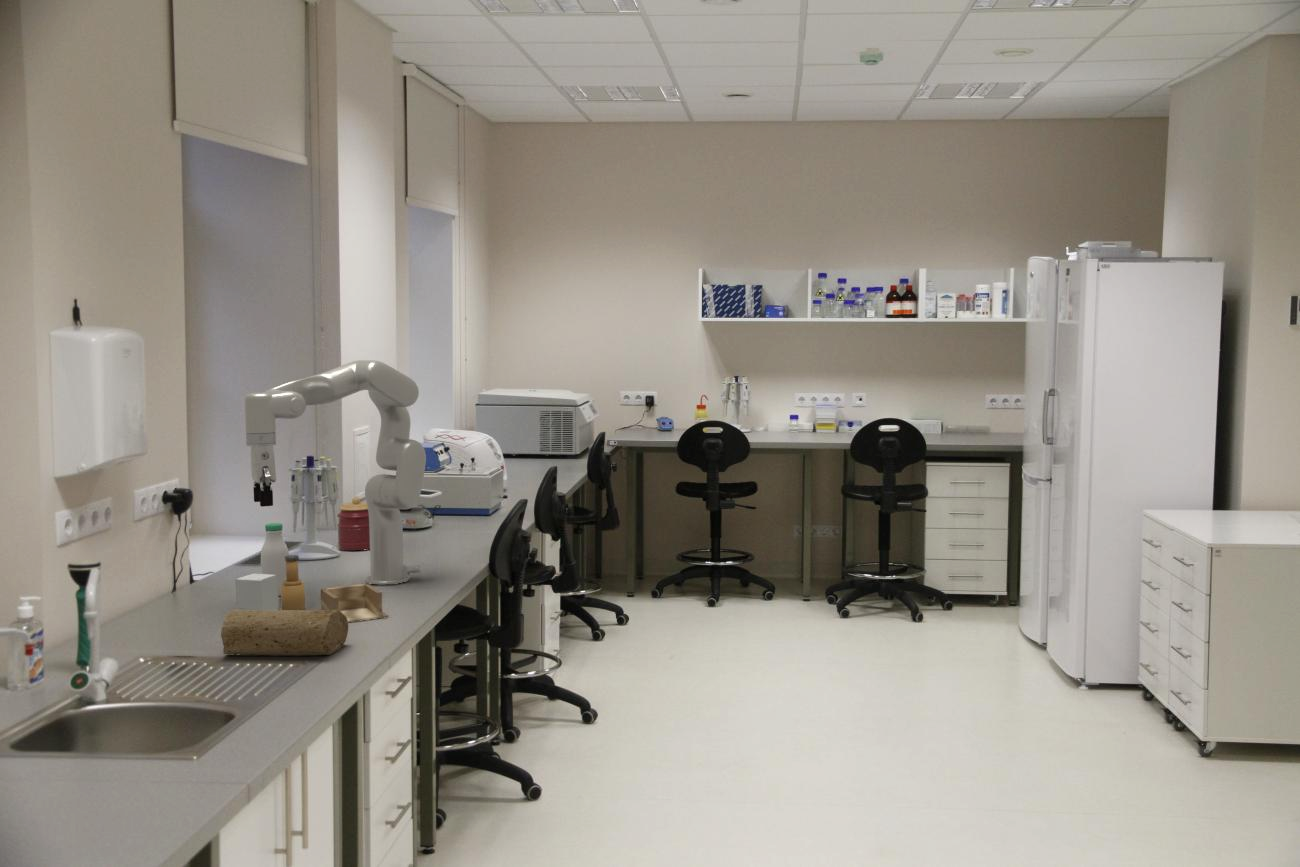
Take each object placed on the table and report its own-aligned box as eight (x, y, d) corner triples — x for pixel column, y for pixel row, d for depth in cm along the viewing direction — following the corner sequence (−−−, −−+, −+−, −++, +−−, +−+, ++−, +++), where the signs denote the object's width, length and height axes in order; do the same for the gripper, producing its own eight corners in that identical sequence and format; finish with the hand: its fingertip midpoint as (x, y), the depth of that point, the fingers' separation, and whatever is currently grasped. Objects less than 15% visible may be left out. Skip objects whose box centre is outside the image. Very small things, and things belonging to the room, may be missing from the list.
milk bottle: (282, 597, 328) (279, 526, 326) (256, 596, 330) (253, 525, 328) (295, 591, 336) (293, 522, 334) (270, 590, 337) (268, 521, 336)
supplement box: (280, 623, 299) (278, 574, 298) (261, 630, 292) (259, 580, 291) (255, 621, 301) (253, 572, 300) (236, 628, 294) (234, 578, 293)
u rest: (372, 607, 316) (371, 582, 315) (388, 617, 304) (387, 592, 303) (315, 614, 308) (315, 589, 308) (330, 625, 296) (329, 599, 296)
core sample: (239, 644, 280) (237, 602, 279) (349, 644, 279) (348, 602, 278) (215, 660, 266) (213, 617, 265) (331, 661, 265) (329, 617, 264)
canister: (372, 551, 397) (370, 499, 395) (333, 552, 397) (331, 499, 396) (381, 544, 410) (379, 494, 408) (344, 545, 410) (342, 494, 409)
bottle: (302, 608, 315) (300, 553, 313) (308, 613, 309) (306, 556, 308) (279, 611, 312) (277, 555, 310) (284, 616, 307) (282, 559, 305)
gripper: (281, 441, 307) (284, 506, 308) (270, 436, 322) (272, 499, 323) (251, 442, 303) (254, 509, 305) (241, 437, 319) (243, 500, 320)
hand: (263, 503), depth 314 cm, fingers open, 9 cm apart
